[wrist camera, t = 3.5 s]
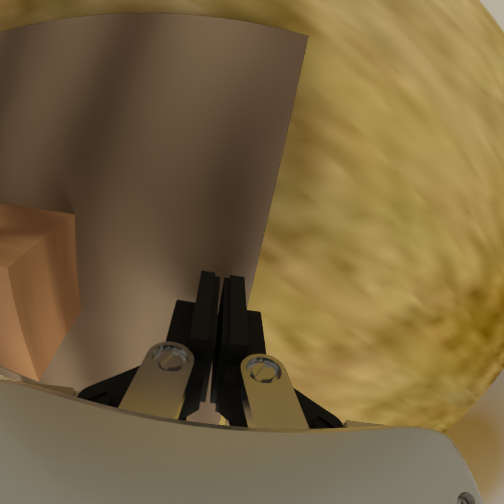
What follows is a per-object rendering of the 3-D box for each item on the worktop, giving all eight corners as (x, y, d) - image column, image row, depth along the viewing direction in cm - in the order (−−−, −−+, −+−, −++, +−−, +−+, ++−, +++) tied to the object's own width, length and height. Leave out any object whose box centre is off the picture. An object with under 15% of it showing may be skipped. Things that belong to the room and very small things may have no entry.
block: (75, 214, 11) (7, 268, 7) (81, 310, 13) (38, 381, 9) (-4, 202, 11) (-73, 243, 6) (8, 290, 13) (-41, 345, 8)
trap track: (295, 49, 11) (308, 35, 9) (217, 402, 20) (217, 430, 18) (-42, 58, 9) (-67, 57, 6) (-19, 339, 17) (-33, 357, 15)
